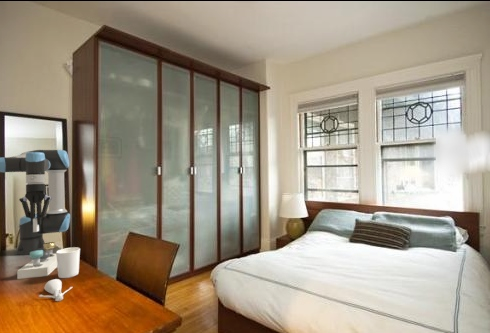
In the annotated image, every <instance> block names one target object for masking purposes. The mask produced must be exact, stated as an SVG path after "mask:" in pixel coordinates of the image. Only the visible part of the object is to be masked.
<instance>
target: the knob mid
mask: <svg viewBox="0 0 490 333" xmlns="http://www.w3.org/2000/svg"><path fill="white" fill-rule="evenodd" d="M48 257H50V252H49V251H46V250H44V251H43V256H42V257H40V262H46V261H47V258H48Z"/></svg>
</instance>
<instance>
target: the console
mask: <svg viewBox="0 0 490 333" xmlns="http://www.w3.org/2000/svg"><path fill="white" fill-rule="evenodd" d="M55 269H57V256H56V253H53V256H50V257H48V258H47V261H46V262H40V265H39V266H33V259H32V260H31V261H29V262H28V263H26V264H25V265H23V266H22V267H21V268H19V269H18V270H17V271H16V272H17V275H16V276H17V280H21V279H31V278H32V279H33V278H41V277H48V276H49V275H50V274H51V273H53V271H54V270H55Z"/></svg>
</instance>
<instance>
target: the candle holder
mask: <svg viewBox="0 0 490 333" xmlns="http://www.w3.org/2000/svg"><path fill="white" fill-rule="evenodd" d="M55 254H56V256H57V267H56V269H57V277H58V279H69V278H73V277H75V276H78V275H79V272H80V257H81V256H80V255H81V248H80V247H78V246H77V247H75V246H73V247H66V248H60V249H58V250H56V252H55Z"/></svg>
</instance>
